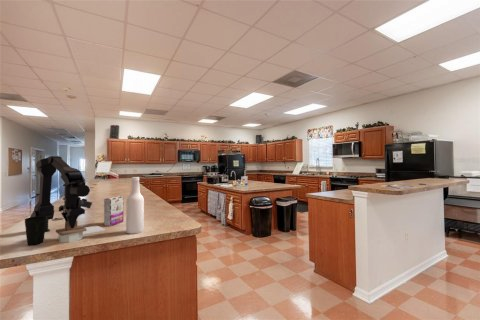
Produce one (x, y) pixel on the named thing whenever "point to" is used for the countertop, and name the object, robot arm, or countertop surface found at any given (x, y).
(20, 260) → the countertop surface
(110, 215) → the candy bar box
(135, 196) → the alcohol
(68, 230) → the lid
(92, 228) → the mat
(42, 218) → the cup
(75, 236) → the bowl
